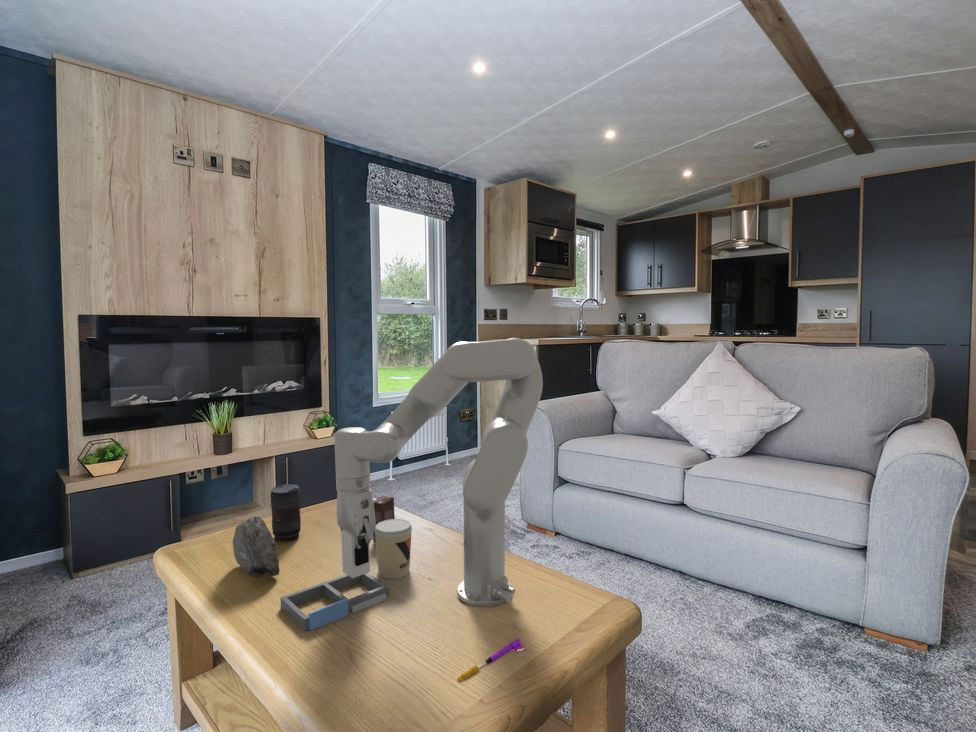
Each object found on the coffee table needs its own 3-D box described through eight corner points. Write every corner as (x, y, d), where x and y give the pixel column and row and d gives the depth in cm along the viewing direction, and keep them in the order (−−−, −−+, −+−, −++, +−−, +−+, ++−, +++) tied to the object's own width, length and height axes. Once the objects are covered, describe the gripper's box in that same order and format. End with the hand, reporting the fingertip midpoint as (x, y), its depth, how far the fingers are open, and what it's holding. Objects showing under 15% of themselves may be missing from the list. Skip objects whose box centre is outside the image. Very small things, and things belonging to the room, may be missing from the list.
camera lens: (265, 541, 152) (264, 490, 151) (284, 531, 159) (282, 483, 158) (289, 544, 149) (287, 493, 148) (307, 534, 157) (305, 485, 156)
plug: (370, 571, 120) (368, 524, 120) (352, 578, 117) (350, 529, 117) (360, 565, 124) (358, 519, 123) (342, 571, 121) (341, 524, 120)
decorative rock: (281, 580, 128) (280, 520, 127) (254, 589, 124) (251, 527, 122) (256, 559, 140) (254, 504, 139) (230, 567, 135) (228, 510, 134)
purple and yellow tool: (517, 641, 103) (455, 680, 92) (518, 636, 103) (456, 675, 91) (526, 650, 101) (465, 691, 90) (528, 645, 101) (466, 686, 90)
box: (382, 535, 156) (381, 495, 155) (395, 537, 155) (395, 497, 154) (371, 542, 151) (370, 501, 150) (385, 544, 149) (384, 503, 148)
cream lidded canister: (404, 581, 127) (404, 533, 126) (369, 578, 129) (368, 530, 128) (417, 564, 136) (417, 519, 136) (383, 561, 138) (383, 517, 137)
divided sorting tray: (390, 597, 120) (389, 582, 119) (305, 632, 106) (305, 615, 106) (361, 578, 129) (361, 564, 129) (280, 608, 115) (280, 593, 115)
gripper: (387, 486, 115) (390, 566, 117) (349, 472, 128) (352, 545, 129) (357, 494, 110) (360, 578, 112) (320, 478, 123) (323, 554, 124)
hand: (356, 559), depth 120 cm, fingers closed on plug, 4 cm apart
